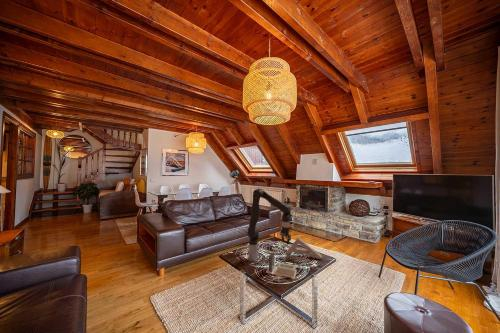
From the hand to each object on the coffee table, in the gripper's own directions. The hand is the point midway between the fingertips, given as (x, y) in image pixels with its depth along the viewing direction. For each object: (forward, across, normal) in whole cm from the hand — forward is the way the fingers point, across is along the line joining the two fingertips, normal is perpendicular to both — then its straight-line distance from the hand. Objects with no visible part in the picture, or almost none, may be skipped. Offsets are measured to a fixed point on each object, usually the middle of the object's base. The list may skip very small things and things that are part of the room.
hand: (285, 242), depth 186 cm
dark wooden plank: (+24, -2, -13) cm, 28 cm away
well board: (+25, +4, -7) cm, 26 cm away
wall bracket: (+25, -12, +32) cm, 42 cm away
